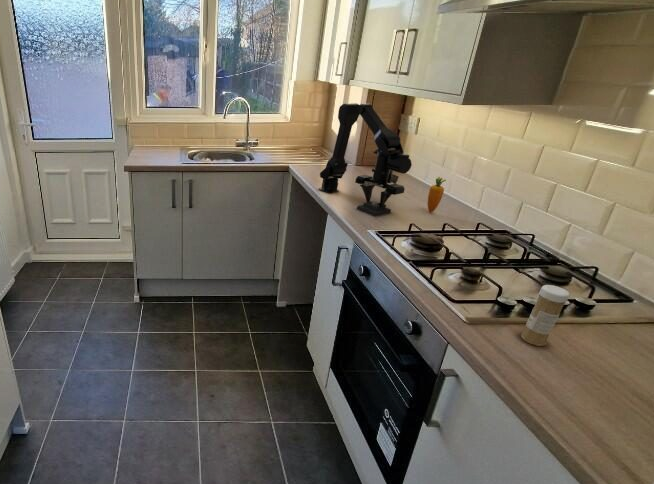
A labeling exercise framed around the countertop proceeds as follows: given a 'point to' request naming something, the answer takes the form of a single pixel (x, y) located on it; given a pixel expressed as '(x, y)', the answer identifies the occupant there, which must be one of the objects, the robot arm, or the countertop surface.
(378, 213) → the base pad
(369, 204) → the small pad
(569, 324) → the countertop surface
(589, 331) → the countertop surface
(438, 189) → the carrot
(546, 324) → the sprinkles bottle
